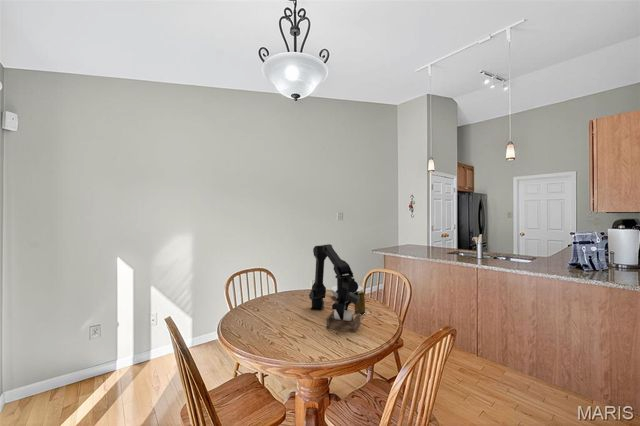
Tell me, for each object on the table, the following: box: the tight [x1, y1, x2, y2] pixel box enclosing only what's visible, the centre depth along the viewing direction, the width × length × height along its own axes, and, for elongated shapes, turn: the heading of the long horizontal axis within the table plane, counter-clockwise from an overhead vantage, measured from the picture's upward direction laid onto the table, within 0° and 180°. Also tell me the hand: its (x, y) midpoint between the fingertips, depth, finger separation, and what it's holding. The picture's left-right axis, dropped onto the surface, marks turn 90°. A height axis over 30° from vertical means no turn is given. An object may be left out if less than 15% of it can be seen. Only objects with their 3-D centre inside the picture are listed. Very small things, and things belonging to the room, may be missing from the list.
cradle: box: [325, 310, 361, 333], centre depth 156 cm, size 15×11×6 cm
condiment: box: [353, 290, 370, 317], centre depth 174 cm, size 7×8×12 cm
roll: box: [333, 309, 354, 321], centre depth 156 cm, size 9×5×5 cm, turn 69°
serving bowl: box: [331, 285, 364, 298], centre depth 202 cm, size 21×21×7 cm
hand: (343, 317), depth 156 cm, fingers closed on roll, 5 cm apart
